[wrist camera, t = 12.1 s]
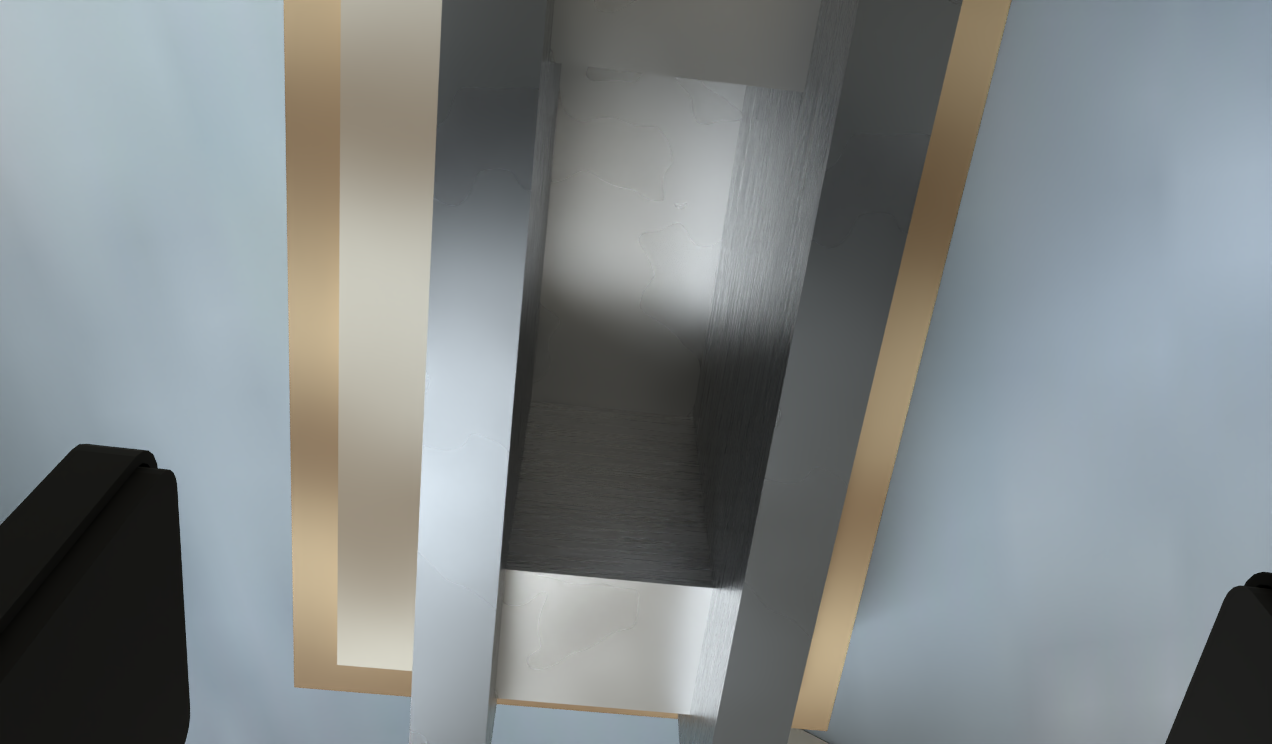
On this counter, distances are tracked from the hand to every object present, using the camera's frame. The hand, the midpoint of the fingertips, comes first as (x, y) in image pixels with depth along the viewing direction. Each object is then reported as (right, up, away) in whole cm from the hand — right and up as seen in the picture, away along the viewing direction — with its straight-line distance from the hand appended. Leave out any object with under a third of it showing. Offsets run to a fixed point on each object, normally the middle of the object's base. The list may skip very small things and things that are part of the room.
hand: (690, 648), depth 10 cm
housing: (-1, +5, +10) cm, 11 cm away
